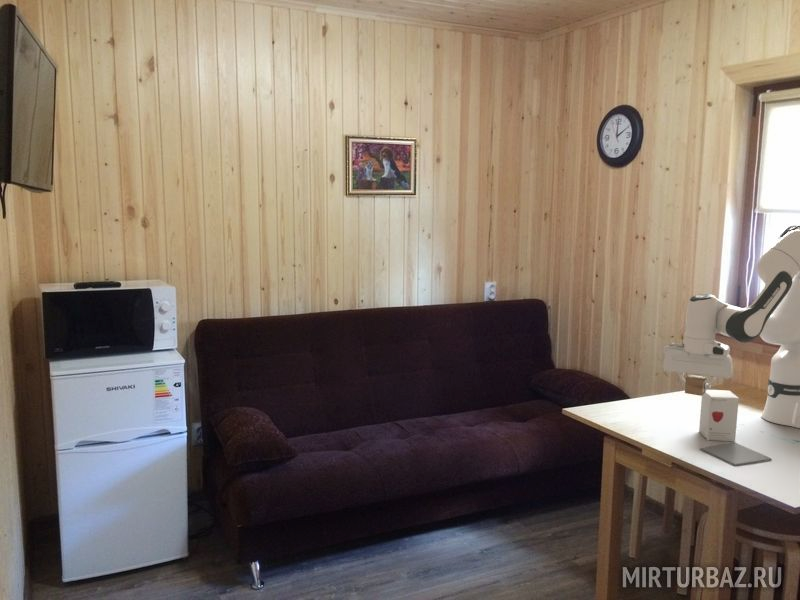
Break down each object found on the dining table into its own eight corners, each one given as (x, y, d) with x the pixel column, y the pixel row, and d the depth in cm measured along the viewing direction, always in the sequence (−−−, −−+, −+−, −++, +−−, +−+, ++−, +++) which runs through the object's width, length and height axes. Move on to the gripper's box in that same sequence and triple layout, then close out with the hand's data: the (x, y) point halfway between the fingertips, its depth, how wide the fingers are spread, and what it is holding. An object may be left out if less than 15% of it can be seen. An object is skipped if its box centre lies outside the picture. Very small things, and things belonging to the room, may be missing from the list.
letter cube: (689, 389, 213) (689, 374, 213) (706, 392, 210) (707, 376, 210) (684, 393, 210) (685, 377, 209) (702, 395, 206) (703, 380, 206)
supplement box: (706, 440, 215) (709, 396, 213) (698, 431, 224) (701, 388, 222) (736, 442, 214) (739, 397, 212) (726, 432, 223) (729, 389, 221)
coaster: (734, 444, 212) (735, 442, 212) (771, 460, 199) (771, 458, 199) (699, 449, 208) (700, 447, 207) (734, 466, 194) (735, 464, 194)
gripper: (662, 343, 210) (659, 385, 213) (733, 351, 200) (729, 395, 202) (665, 340, 216) (663, 380, 218) (735, 347, 205) (731, 390, 207)
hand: (695, 387), depth 210 cm, fingers closed on letter cube, 5 cm apart
